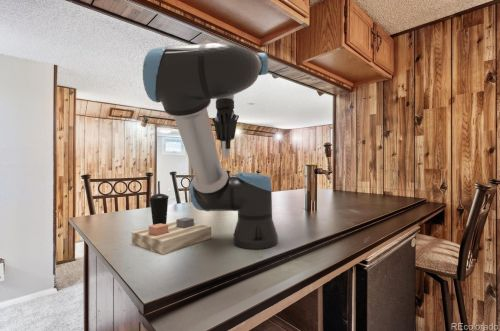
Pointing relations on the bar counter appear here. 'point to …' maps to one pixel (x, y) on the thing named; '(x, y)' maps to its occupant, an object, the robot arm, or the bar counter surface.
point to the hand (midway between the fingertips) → (226, 157)
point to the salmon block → (158, 229)
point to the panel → (171, 238)
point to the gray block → (185, 222)
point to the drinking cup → (159, 207)
